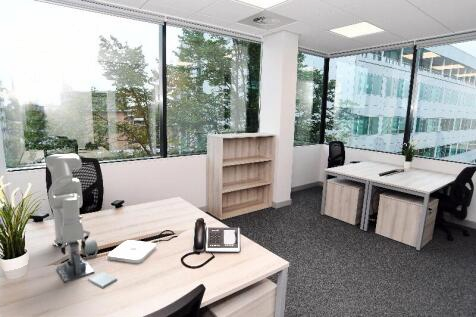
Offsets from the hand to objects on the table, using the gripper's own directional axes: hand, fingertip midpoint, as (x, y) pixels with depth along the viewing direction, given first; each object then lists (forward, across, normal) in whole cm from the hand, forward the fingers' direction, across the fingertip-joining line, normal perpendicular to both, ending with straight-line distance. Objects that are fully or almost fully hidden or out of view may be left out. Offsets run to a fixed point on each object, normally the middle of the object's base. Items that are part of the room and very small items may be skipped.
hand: (73, 250), depth 150 cm
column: (+10, 0, 0) cm, 10 cm away
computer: (+12, -32, +1) cm, 34 cm away
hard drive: (+13, -8, +19) cm, 24 cm away
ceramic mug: (+12, -12, -14) cm, 22 cm away
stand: (+12, 0, 0) cm, 12 cm away
